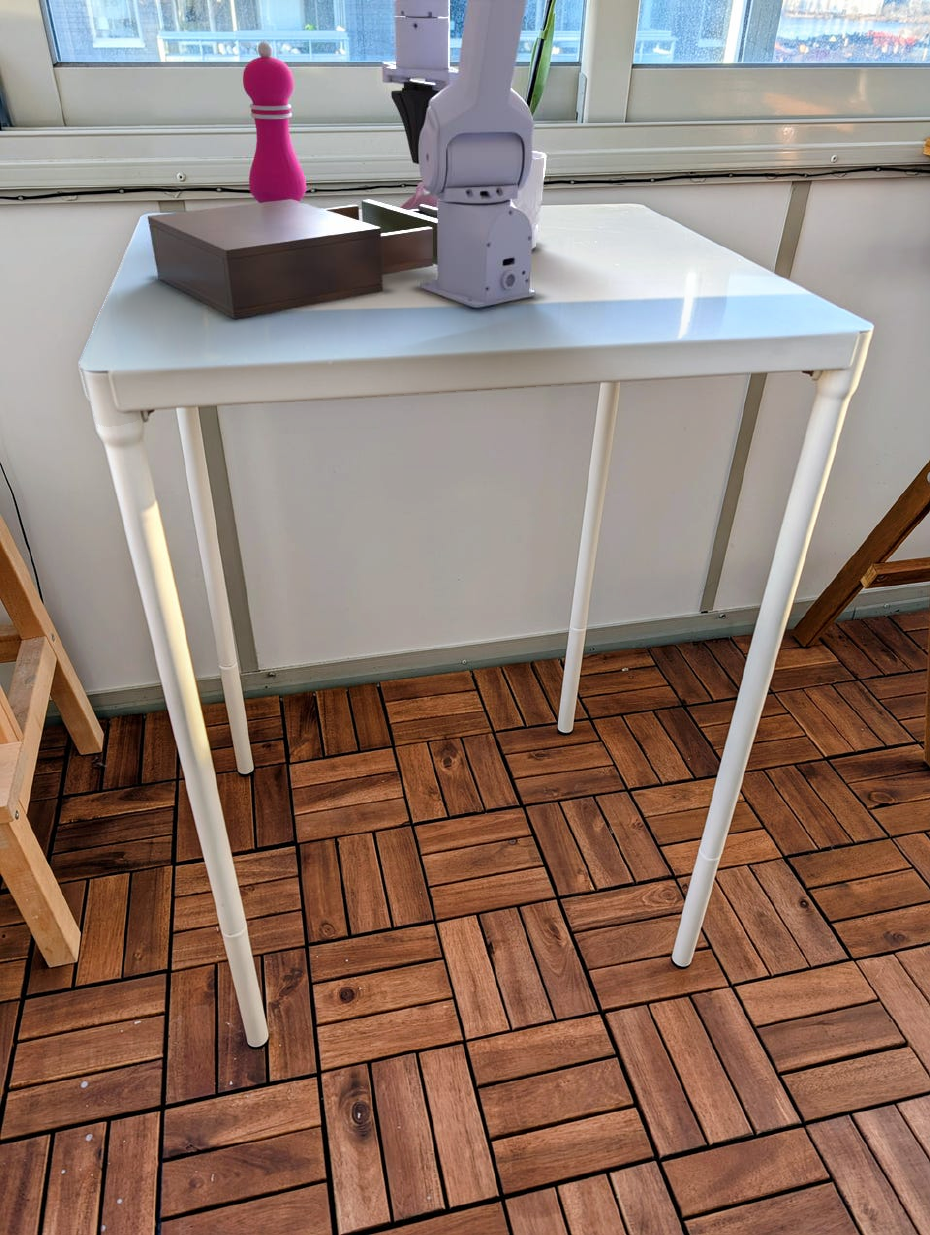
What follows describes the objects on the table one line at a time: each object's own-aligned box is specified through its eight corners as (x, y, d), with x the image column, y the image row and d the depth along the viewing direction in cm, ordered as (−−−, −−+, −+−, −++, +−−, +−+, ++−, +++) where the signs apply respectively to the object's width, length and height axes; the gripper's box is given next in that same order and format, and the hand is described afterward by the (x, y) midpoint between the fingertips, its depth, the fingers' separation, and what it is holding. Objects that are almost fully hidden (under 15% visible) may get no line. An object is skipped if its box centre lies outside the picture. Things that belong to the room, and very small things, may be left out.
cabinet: (296, 256, 103) (291, 198, 100) (383, 291, 92) (381, 227, 89) (157, 278, 95) (147, 216, 91) (234, 319, 84) (225, 250, 80)
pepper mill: (297, 229, 115) (282, 43, 103) (244, 226, 116) (223, 41, 104) (316, 218, 121) (304, 41, 109) (265, 215, 122) (247, 39, 110)
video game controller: (421, 252, 112) (447, 198, 109) (388, 234, 111) (413, 178, 108) (426, 234, 120) (450, 184, 117) (395, 217, 119) (418, 165, 116)
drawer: (403, 233, 110) (402, 195, 108) (489, 261, 100) (490, 219, 97) (253, 256, 100) (249, 214, 97) (332, 289, 89) (329, 243, 87)
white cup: (541, 240, 112) (546, 150, 106) (539, 255, 106) (545, 160, 100) (478, 237, 113) (480, 148, 107) (472, 252, 106) (474, 158, 101)
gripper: (355, 14, 96) (361, 156, 104) (424, 19, 86) (425, 175, 94) (412, 14, 99) (414, 152, 107) (485, 19, 90) (481, 170, 97)
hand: (423, 162), depth 101 cm, fingers closed
